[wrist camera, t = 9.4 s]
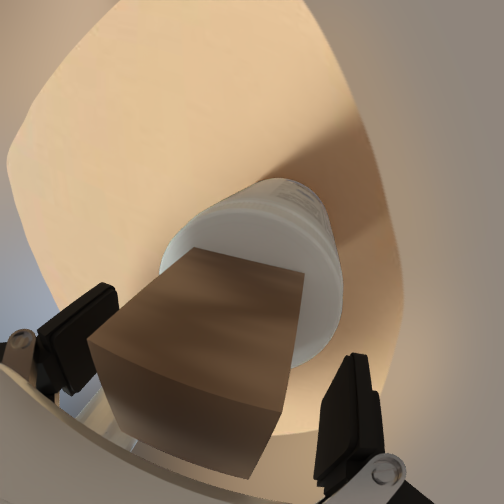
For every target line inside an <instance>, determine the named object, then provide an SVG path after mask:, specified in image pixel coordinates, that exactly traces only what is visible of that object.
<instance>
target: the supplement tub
mask: <svg viewBox="0 0 504 504" xmlns="http://www.w3.org/2000/svg"><path fill="white" fill-rule="evenodd" d="M193 247H196V248H200V249H204V250H208V251H213V252H217V253H221V254H225V255H229V256H233V257H238V258H242V259H246V260H250V261H254V262H259V263H263V264H267V265H271V266H276V267H280V268H284V269H288V270H293V271H297V272H301V273H305V277H304V284H303V292H302V299H301V307H300V313H299V320H298V327H297V333H296V339H295V346H294V352H293V357H292V363H291V369H292V368H294V367H297V366H299V365H301V364H303V363H305V362H307V361H308V360H310V359H312V358H313V357H314V356H316V355H317V354H318V353H319V352H320V351H321V350H322V349H323V348H324V347H325V346H326V345H327V344H328V342H329V341H330V340H331V338H332V336H333V335H334V333H335V331H336V329H337V327H338V324H339V321H340V317H341V313H342V303H343V277H342V271H341V266H340V261H339V256H338V252H337V248H336V244H335V240H334V236H333V232H332V228H331V225H330V221H329V217H328V214H327V211H326V209H325V207H324V205H323V203H322V201H321V200H320V198H319V197H318V196H317V195H316V194H315V193H314V192H313V191H312V190H311V189H309V188H308V187H307V186H305V185H303V184H301V183H299V182H297V181H294V180H290V179H286V178H271V179H266V180H263V181H260V182H257V183H255V184H253V185H251V186H249V187H247V188H245V189H243V190H241V191H239V192H237V193H235V194H233V195H231V196H230V197H228V198H226V199H224V200H222V201H220V202H218V203H216V204H214V205H213V206H211V207H209V208H207V209H206V210H204V211H202V212H201V213H199V214H198V215H196V216H195V217H194V218H193V219H192V220H190V221H189V222H188V223H187V224H186V225H185V226H184V227H183V228H182V229H181V230H180V231H179V232H178V233H177V234H176V235H175V236H174V238H173V239H172V240H171V241H170V243H169V245H168V247H167V249H166V250H165V253H164V255H163V257H162V261H161V265H160V270H159V275H160V274H162V273H163V272H164V271H165V270H166V269H167V268H169V267H170V266H171V265H172V264H174V263H175V262H176V261H177V260H178V259H180V258H181V257H182V256H183V255H184V254H186V253H187V252H188V251H189V250H191V249H192V248H193Z"/></svg>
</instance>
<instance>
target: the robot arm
mask: <svg viewBox="0 0 504 504" xmlns="http://www.w3.org/2000/svg"><path fill="white" fill-rule="evenodd" d="M118 310H119V303H118V295H117V292H116V291H115V288H114V287H113V286H111V285H109V284H106V283H104V282H101V283H99V284H98V285H96V286H95V287H94V288H92V289H91V290H89V291H88V292H87V293H85V294H84V295H82V296H81V297H80V298H78V299H77V300H76V301H74V302H73V303H71V304H70V305H69V306H67V307H66V308H65V309H63V310H62V311H61V312H60V313H58V314H57V315H56V316H54V317H53V318H52V319H50V320H49V321H48V322H46V323H45V324H44V325H42V326H41V327H40V328H39V329H37V332H38V336H37V337H36V336H35V333H34V332H33V331H32V330H29V329H20V330H17V331H15V332H14V333H13V334H11V336H10V337H9V339H8V341H7V342H3V343H0V504H290V503H284V502H278V501H273V500H268V499H263V498H257V497H253V496H249V495H245V494H241V493H237V492H233V491H229V490H225V489H222V488H218V487H215V486H212V485H208V484H205V483H202V482H199V481H197V480H194V479H191V478H188V477H185V476H183V475H180V474H178V473H175V472H173V471H170V470H168V469H165V468H163V467H160V466H158V465H156V464H154V463H151V462H150V461H147V460H145V459H143V458H141V457H139V456H137V455H135V454H133V453H131V451H132V449H133V447H134V446H135V444H136V442H137V441H138V440H137V439H135V438H133V437H131V436H129V435H127V434H125V433H123V432H121V430H120V428H119V426H118V424H117V422H116V419H115V417H114V415H113V413H112V410H111V408H110V405H109V403H108V401H107V398H106V396H105V393H104V390H103V388H102V387H101V388H100V390H99V391H98V392H97V393H96V394H95V396H94V397H93V398H92V399H91V400H90V401H89V403H88V404H87V405H86V406H85V408H84V409H83V410H82V411H81V412H80V413H79V415H78V416H77V417H76V418H73V417H72V416H70V415H69V414H68V413H66V412H65V411H64V410H62V409H61V408H60V407H59V391H60V390H61V389H63V391H64V392H66V393H67V394H68V395H70V396H73V395H74V394H75V393H78V392H80V391H81V389H82V388H83V387H84V386H85V385H86V384H87V383H88V382H89V380H91V378H92V377H93V376H94V375H95V374H96V373H97V371H96V368H95V365H94V362H93V359H92V356H91V352H90V349H89V346H88V342H87V338H88V337H89V336H91V335H92V334H93V333H94V332H95V331H96V330H97V329H98V328H99V327H100V326H102V325H103V324H104V323H105V322H106V321H107V320H108V319H109V318H110V317H112V316H113V315H114V314H115V313H116V312H117V311H118ZM313 478H314V480H317V487H324V495H325V496H324V497H323V498H322V499H321V500H319V501H318V502H317V503H316V504H434V503H433V502H432V501H431V500H429V499H428V498H427V497H425V496H424V495H423V494H422V493H420V492H419V491H418V490H417V489H416V488H414V487H413V486H412V485H411V484H409V483H408V482H407V481H406V480H405V478H406V466H405V464H404V462H403V461H402V460H401V459H400V458H399V457H397V456H396V455H394V454H389V453H385V449H384V435H383V424H382V415H381V406H380V399H379V394H378V392H377V391H373V390H372V384H371V377H370V369H369V363H368V357H367V355H364V354H358V353H351V354H350V356H347V355H346V356H345V358H344V360H343V362H342V364H341V366H340V368H339V370H338V372H337V373H336V375H335V377H334V379H333V381H332V383H331V385H330V387H329V389H328V390H327V392H326V394H325V396H324V398H323V400H322V403H321V408H320V421H319V432H318V442H317V451H316V459H315V468H314V476H313Z"/></svg>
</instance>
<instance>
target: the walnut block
mask: <svg viewBox="0 0 504 504" xmlns="http://www.w3.org/2000/svg"><path fill="white" fill-rule="evenodd" d="M304 277H305V273H301V272H297V271H293V270H288V269H284V268H280V267H276V266H271V265H267V264H263V263H259V262H254V261H250V260H246V259H242V258H238V257H233V256H229V255H225V254H221V253H217V252H213V251H208V250H204V249H200V248H196V247H193V248H192V249H191V250H189V251H188V252H187V253H186V254H184V255H183V256H182V257H181V258H180V259H178V260H177V261H176V262H175V263H174V264H172V265H171V266H170V267H169V268H167V269H166V270H165V271H164V272H163V273H162V274H160V275H159V276H158V277H157V278H156V279H154V280H153V281H152V282H151V283H150V284H148V285H147V286H146V287H145V288H144V289H143V290H141V291H140V292H139V293H138V294H137V295H136V296H134V297H133V298H132V299H131V300H130V301H129V302H128V303H126V304H125V305H124V306H123V307H122V308H121V309H120V310H118V311H117V312H116V313H115V314H114V315H113V316H112V317H110V318H109V319H108V320H107V321H106V322H105V323H104V324H103V325H102V326H100V327H99V328H98V329H97V330H96V331H95V332H94V333H93V334H92V335H91V336H89V337H88V338H87V342H88V346H89V349H90V352H91V356H92V359H93V362H94V365H95V368H96V371H97V374H98V376H99V380H100V382H101V385H102V388H103V390H104V393H105V396H106V398H107V401H108V403H109V405H110V408H111V410H112V413H113V415H114V417H115V419H116V422H117V424H118V426H119V428H120V430H121V432H123V433H125V434H127V435H129V436H131V437H133V438H135V439H137V440H139V441H141V442H143V443H145V444H147V445H149V446H152V447H154V448H156V449H158V450H160V451H163V452H165V453H168V454H170V455H172V456H175V457H178V458H180V459H182V460H185V461H188V462H190V463H193V464H196V465H199V466H202V467H205V468H208V469H211V470H214V471H218V472H221V473H224V474H228V475H231V476H235V477H240V478H243V479H247V480H248V479H249V477H250V476H251V474H252V472H253V470H254V468H255V466H256V465H257V463H258V461H259V459H260V457H261V455H262V453H263V451H264V449H265V447H266V445H267V443H268V441H269V439H270V437H271V435H272V433H273V431H274V429H275V427H276V424H277V422H278V420H279V418H280V416H281V414H282V410H283V405H284V400H285V395H286V390H287V385H288V380H289V374H290V369H291V363H292V357H293V352H294V346H295V339H296V333H297V327H298V320H299V313H300V307H301V299H302V292H303V284H304Z"/></svg>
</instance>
